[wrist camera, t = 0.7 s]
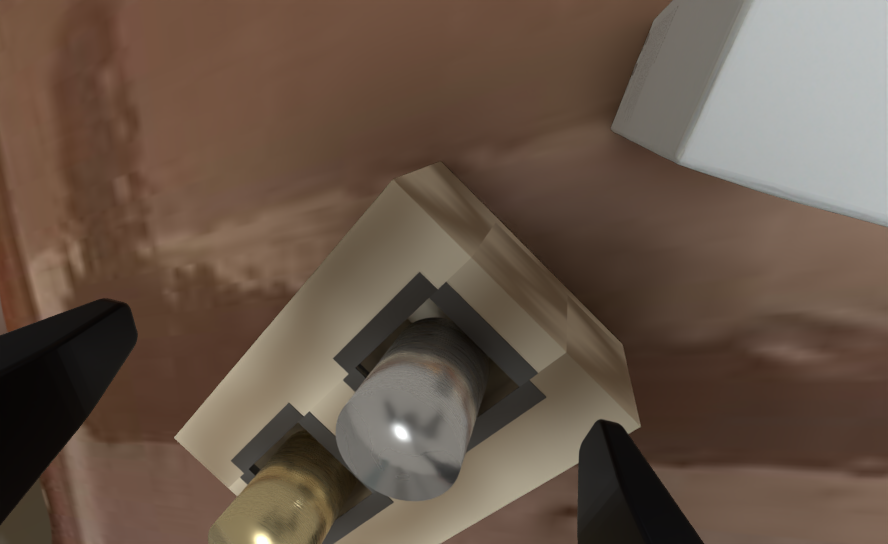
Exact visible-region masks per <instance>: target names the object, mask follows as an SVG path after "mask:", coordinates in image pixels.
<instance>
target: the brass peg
mask: <svg viewBox="0 0 888 544" xmlns="http://www.w3.org/2000/svg"><path fill="white" fill-rule="evenodd" d="M356 482H357V478H356V477H355V476H354V475H353V474H352V473H351V472H350V471H349V470H348V469H347V468H346V467H345V466H344V465H343V464H341V463H340V462H339V461H338V460H337V459H336V458H335V457H334V456H333V455H332V454H331V453H330V452H329V451H328V450H327V449H326V448H325V447H323V446H322V445H321V444H320V443H319V442H318V441H317V440H316V439H315V438H314V437H313V436H312V435H311V434H310V433H309V432H308V431H307V430H302V431H298V432H296V433H294V434H292V435H291V436H290V437H289V438H288V439H287V440H286V441H285V442H284V443H283V445H282V446H281V447H280V448H279V449H278V450H277V452H276V453H275V454H274V455H273V456H272V457H271V458H270V460H269V461H268V462H267V463H266V464H265V465H264V466H263V468H262V469H261V470H260V471H259V472H258V473H257V475H256V476H255V477H254V478H253V479H252V480H251V481H250V483H249V484H248V485H247V486H246V487H245V488H244V489H243V491H242V492H241V493H240V494H239V495H238V496H237V498H236V499H235V500H234V501H233V502H232V503H231V504H230V506H229V507H228V508H227V509H226V510H225V511H224V513H223V514H222V515H221V516H220V517H219V518H218V519H217V521H216V522H215V523H214V524H213V525H212V526H211V528H210V531H209V534H208V543H209V544H322V542H323V540H324V539H325V537H326V535H327V534H328V532H329V530H330V528H331V527H332V525H333V523H334V521H335V520H336V518H337V516H338V515H339V513H340V511H341V509H342V508H343V506H344V504H345V502H346V501H347V499H348V497H349V496H350V494H351V492H352V490H353V489H354V487H355V485H356Z"/></svg>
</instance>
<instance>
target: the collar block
mask: <svg viewBox="0 0 888 544" xmlns="http://www.w3.org/2000/svg"><path fill="white" fill-rule="evenodd" d="M432 317H435V318H445V319H449V320H452V321H453V322H454V323H455V324H456V325H457V326H458V327H459V328H460V329H461V330H462V331H463V332H464V333H465V334H466V335H467V336H468V337H469V338H470V339H471V340H472V341H473V342H474V343H475V344H476V345H477V346H478V347H480V348H481V349H482V350H483V351H484V352H485V353H486V354H487V355H488V357H489V362H490V375H489V379H488V382H487V386H486V389H485V392H484V395H483V398H482V402H481V405H480V408H479V411H478V415H477V418H476V421H475V424H474V428H473V431H472V434H471V437H470V440H469V444H468V447H467V450H466V453H465V457H464V460H463V463H462V466H461V470H460V473H459V475H458V478H457V480H456V481H455V483H454V484H453V486H452V487H451V488H450V489H449V490H448V491H446V492H445V493H444V494H442V495H440V496H438V497H436V498H433V499H430V500H425V501H404V500H399V499H394V498H391V497H388V496H386V495H383V494H381V493H379V492H377V491H375V490H374V489H372V488H370V487H369V486H367V485H366V484H365V483H363V482H362V481H361V480H360V479H359V478H358V477H357V476H356V475H355V474H354V473H353V472H352V471H351V470H350V468H349V467H348V466H347V464H346V463H345V461H344V460H343V458H342V456H341V454H340V451H339V448H338V446H337V441H336V432H335V431H336V423H337V419H338V416H339V414H340V412H341V410H342V409H343V407H344V406H345V405H346V403H347V402H348V401H349V400H350V398H351V397H352V396H353V394H354V393H355V392H356V390H357V389H358V388H359V387H360V385H361V384H362V383H363V381H364V380H365V379H366V378H367V376H368V375H369V374H370V372H371V371H372V370H373V368H374V367H375V366H376V365H377V363H378V362H379V361H380V359H381V358H382V357H383V355H384V354H385V353H386V352H387V350H388V349H389V348H390V346H391V345H392V344H393V343H394V341H395V340H396V339H397V337H398V336H399V335H400V333H401V332H402V331H403V330H404V329H405V328H406V327H407V326H409V325H410V324H412V323H413V322H415V321H418V320H420V319H424V318H432ZM599 419H604V420H608V421H612V422H616V423H619V424H620V425H622V426H623V428H624V429H625V430H626V432H627V433H628V434H629V433H631V432H632V431H634V430H636V429H638V428H639V427H641V425H640V421H639V416H638V412H637V407H636V403H635V398H634V394H633V389H632V385H631V380H630V375H629V371H628V366H627V362H626V357H625V353H624V348H623V344H622V343H621V342H620V341H619V340H618V339H617V338H616V337H615V336H614V335H613V334H612V333H611V332H610V331H609V330H608V329H607V328H606V327H605V326H604V325H603V324H602V323H601V322H600V321H599V320H598V319H597V318H596V317H595V316H594V315H593V314H592V313H591V312H590V311H589V310H588V309H587V308H586V307H585V306H584V305H583V304H582V303H581V302H580V301H579V300H578V299H577V298H576V297H575V296H574V295H573V294H572V293H571V292H570V291H569V290H568V289H567V288H566V287H565V286H564V285H563V284H562V283H561V282H560V281H559V280H558V279H557V278H556V277H555V276H554V275H553V274H552V273H551V272H550V271H549V270H548V269H547V268H546V267H545V266H544V265H543V264H542V263H541V262H540V261H539V260H538V259H537V258H536V257H535V256H534V255H533V254H532V253H531V252H530V251H529V250H528V249H527V248H526V247H525V246H524V245H523V244H522V243H521V242H520V241H519V240H518V239H517V238H516V237H515V236H514V235H513V233H512V232H511V231H510V230H509V229H508V228H507V227H506V226H505V225H504V224H503V223H502V222H501V221H500V220H499V219H498V218H497V217H496V216H495V215H494V214H493V213H492V212H491V211H490V210H489V209H488V208H487V207H486V206H485V205H484V204H483V203H482V202H481V201H480V200H479V199H478V198H477V197H476V196H475V195H474V194H473V193H472V192H471V191H470V190H469V189H468V188H467V187H466V186H465V185H464V184H463V183H462V182H461V181H460V180H459V179H458V178H457V177H456V176H455V175H454V174H453V173H452V172H451V171H450V170H449V169H448V168H447V167H446V166H445V165H444V164H443V163H442V162H441V161H440V162H438V163H435V164H432V165H430V166H427V167H424V168H422V169H419V170H416V171H414V172H411V173H408V174H406V175H403V176H400V177H398V178H395V179H393V180H392V181H391V182H390V183H389V184H388V186H387V187H386V188H385V189H384V190H383V192H382V193H381V194H380V195H379V196H378V197H377V199H376V200H375V201H374V202H373V203H372V205H371V206H370V207H369V208H368V209H367V210H366V212H365V213H364V214H363V215H362V216H361V218H360V219H359V220H358V221H357V222H356V223H355V225H354V226H353V227H352V228H351V229H350V231H349V232H348V233H347V234H346V235H345V236H344V238H343V239H342V240H341V241H340V242H339V244H338V245H337V246H336V247H335V248H334V249H333V251H332V252H331V253H330V254H329V255H328V257H327V258H326V259H325V260H324V261H323V262H322V264H321V265H320V266H319V267H318V268H317V270H316V271H315V272H314V273H313V274H312V275H311V277H310V278H309V279H308V280H307V281H306V283H305V284H304V285H303V286H302V287H301V288H300V290H299V291H298V292H297V293H296V294H295V296H294V297H293V298H292V299H291V300H290V301H289V303H288V304H287V305H286V306H285V307H284V309H283V310H282V311H281V312H280V313H279V314H278V316H277V317H276V318H275V319H274V320H273V322H272V323H271V324H270V325H269V326H268V327H267V329H266V330H265V331H264V332H263V333H262V335H261V336H260V337H259V338H258V339H257V340H256V342H255V343H254V344H253V345H252V346H251V348H250V349H249V350H248V351H247V352H246V353H245V355H244V356H243V357H242V358H241V359H240V361H239V362H238V363H237V364H236V365H235V366H234V368H233V369H232V370H231V371H230V372H229V374H228V375H227V376H226V377H225V378H224V379H223V381H222V382H221V383H220V384H219V385H218V387H217V388H216V389H215V390H214V391H213V392H212V394H211V395H210V396H209V397H208V398H207V400H206V401H205V402H204V403H203V404H202V405H201V407H200V408H199V409H198V410H197V411H196V413H195V414H194V415H193V416H192V417H191V418H190V420H189V421H188V422H187V423H186V424H185V426H184V427H183V428H182V429H181V430H180V431H179V433H178V434H177V435H176V436H175V437H174V438H175V439H176V440H177V441H178V442H179V443H180V444H181V445H182V446H183V447H184V448H186V449H187V450H188V451H189V452H190V453H191V454H192V455H193V456H194V457H195V458H196V459H197V460H199V461H200V462H201V463H202V464H203V465H204V466H205V467H206V468H207V469H208V470H209V471H210V472H211V473H213V474H214V475H215V476H216V477H217V478H218V479H219V480H220V481H221V482H222V483H223V484H224V485H226V486H227V487H228V488H229V489H230V490H231V491H232V492H233V493H234V494H235V495H236V496H238V495H239V494H240V493H241V492H242V491H243V489H244V488H245V487H246V486H247V485H248V484H249V483H250V481H251V480H252V479H253V478H254V477H255V476H256V475H257V473H258V472H259V471H260V470H261V469H262V468H263V466H264V465H265V464H266V463H267V462H268V461H269V460H270V458H271V457H272V456H273V455H274V454H275V453H276V452H277V450H278V449H279V448H280V447H281V446H282V445H283V443H284V442H285V441H286V440H287V439H288V438H289V437H290V436H291V435H292V434H294V433H296V432H298V431H302V430H307V431H308V432H309V433H310V434H311V435H312V436H313V437H314V438H315V439H316V440H317V441H318V442H319V443H320V444H321V445H322V446H323V447H325V448H326V449H327V450H328V451H329V452H330V453H331V454H332V455H333V456H334V457H335V458H336V459H337V460H338V461H339V462H340V463H341V464H343V465H344V466H345V467H346V468H347V469H348V470H349V471H350V472H351V473H352V474H353V475H354V476H355V477H356V478H357V482H356V485H355V487H354V489H353V490H352V492H351V494H350V496H349V497H348V499H347V501H346V502H345V504H344V506H343V508H342V509H341V511H340V513H339V515H338V516H337V518H336V520H335V521H334V523H333V525H332V527H331V528H330V530H329V532H328V534H327V535H326V537H325V539H324V540H323V542H322V544H440V543H442V542H444V541H445V540H447V539H449V538H451V537H452V536H454V535H456V534H457V533H459V532H461V531H463V530H464V529H466V528H468V527H469V526H471V525H473V524H475V523H476V522H478V521H480V520H481V519H483V518H485V517H487V516H488V515H490V514H492V513H493V512H495V511H497V510H499V509H500V508H502V507H504V506H505V505H507V504H509V503H511V502H512V501H514V500H516V499H517V498H519V497H521V496H523V495H524V494H526V493H528V492H529V491H531V490H533V489H535V488H536V487H538V486H540V485H541V484H543V483H545V482H547V481H548V480H550V479H552V478H553V477H555V476H557V475H559V474H560V473H562V472H564V471H565V470H567V469H569V468H571V467H572V466H574V465H576V464H578V463H579V449H580V446H581V443H582V441H583V440H584V438H585V437H586V435H587V434H588V432H589V431H590V429H591V428H592V426H593V425H594V423H595V422H596V421H597V420H599Z"/></svg>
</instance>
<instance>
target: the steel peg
mask: <svg viewBox="0 0 888 544" xmlns="http://www.w3.org/2000/svg"><path fill="white" fill-rule="evenodd" d="M489 375H490V362H489V357H488V355H487V354H486V353H485V352H484V351H483V350H482V349H481V348H480V347H478V346H477V345H476V344H475V343H474V342H473V341H472V340H471V339H470V338H469V337H468V336H467V335H466V334H465V333H464V332H463V331H462V330H461V329H460V328H459V327H458V326H457V325H456V324H455V323H454V322H453V321H452V320H449V319H445V318H435V317H432V318H424V319H420V320H418V321H415V322H413V323H412V324H410V325H409V326H407V327H406V328H405V329H404V330H403V331H402V332H401V333H400V335H399V336H398V337H397V339H396V340H395V341H394V343H393V344H392V345H391V346H390V348H389V349H388V350H387V352H386V353H385V354H384V355H383V357H382V358H381V359H380V361H379V362H378V363H377V365H376V366H375V367H374V368H373V370H372V371H371V372H370V374H369V375H368V376H367V378H366V379H365V380H364V381H363V383H362V384H361V385H360V387H359V388H358V389H357V390H356V392H355V393H354V394H353V396H352V397H351V398H350V400H349V401H348V402H347V403H346V405H345V406H344V407H343V409H342V410H341V412H340V414H339V416H338V419H337V423H336V431H335V432H336V441H337V446H338V448H339V451H340V454H341V456H342V458H343V460H344V461H345V463H346V464H347V466H348V467H349V468H350V470H351V471H352V472H353V473H354V474H355V475H356V476H357V477H358V478H359V479H360V480H361V481H362V482H363V483H365V484H366V485H367V486H369V487H370V488H372V489H374V490H375V491H377V492H379V493H381V494H383V495H386V496H388V497H391V498H394V499H399V500H404V501H425V500H430V499H433V498H436V497H438V496H440V495H442V494H444V493H445V492H446V491H448V490H449V489H450V488H451V487H452V486H453V484H454V483H455V481H456V480H457V478H458V475H459V473H460V470H461V466H462V463H463V460H464V457H465V453H466V450H467V447H468V444H469V440H470V437H471V434H472V431H473V428H474V424H475V421H476V418H477V415H478V411H479V408H480V405H481V402H482V398H483V395H484V392H485V389H486V386H487V382H488V379H489Z"/></svg>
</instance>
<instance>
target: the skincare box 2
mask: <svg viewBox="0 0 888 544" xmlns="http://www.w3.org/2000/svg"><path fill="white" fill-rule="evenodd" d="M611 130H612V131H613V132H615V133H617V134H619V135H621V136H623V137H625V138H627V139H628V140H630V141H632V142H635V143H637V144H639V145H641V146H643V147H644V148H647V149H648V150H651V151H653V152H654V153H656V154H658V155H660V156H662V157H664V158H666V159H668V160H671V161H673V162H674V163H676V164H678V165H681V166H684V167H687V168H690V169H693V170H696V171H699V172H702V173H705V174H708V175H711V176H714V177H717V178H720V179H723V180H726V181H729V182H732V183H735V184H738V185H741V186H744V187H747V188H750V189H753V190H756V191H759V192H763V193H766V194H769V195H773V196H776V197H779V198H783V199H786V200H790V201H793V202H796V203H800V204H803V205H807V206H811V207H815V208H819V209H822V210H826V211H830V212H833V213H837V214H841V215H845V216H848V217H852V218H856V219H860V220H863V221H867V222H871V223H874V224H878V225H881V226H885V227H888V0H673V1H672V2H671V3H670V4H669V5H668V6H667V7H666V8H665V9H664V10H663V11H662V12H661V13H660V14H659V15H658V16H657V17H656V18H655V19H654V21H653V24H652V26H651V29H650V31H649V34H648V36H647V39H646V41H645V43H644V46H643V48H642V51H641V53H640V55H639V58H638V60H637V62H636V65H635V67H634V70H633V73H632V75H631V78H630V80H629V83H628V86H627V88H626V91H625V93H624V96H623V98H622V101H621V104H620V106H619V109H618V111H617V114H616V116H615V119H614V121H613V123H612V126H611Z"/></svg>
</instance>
